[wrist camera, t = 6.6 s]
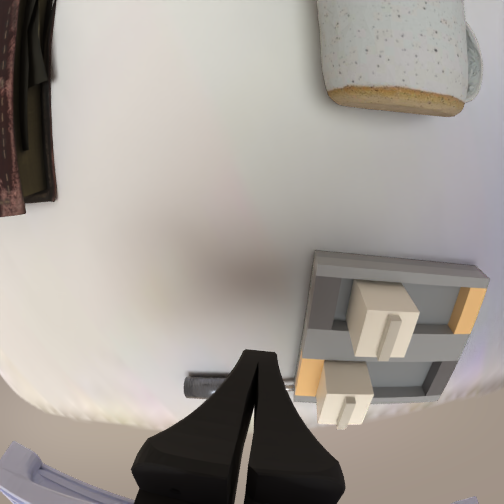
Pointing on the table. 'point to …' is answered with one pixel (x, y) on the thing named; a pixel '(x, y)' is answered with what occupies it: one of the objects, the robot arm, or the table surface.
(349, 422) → the tab
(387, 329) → the tab
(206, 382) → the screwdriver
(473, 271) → the switch bank
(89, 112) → the table surface
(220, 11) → the table surface
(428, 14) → the ceramic mug
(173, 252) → the table surface
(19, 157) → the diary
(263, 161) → the table surface
